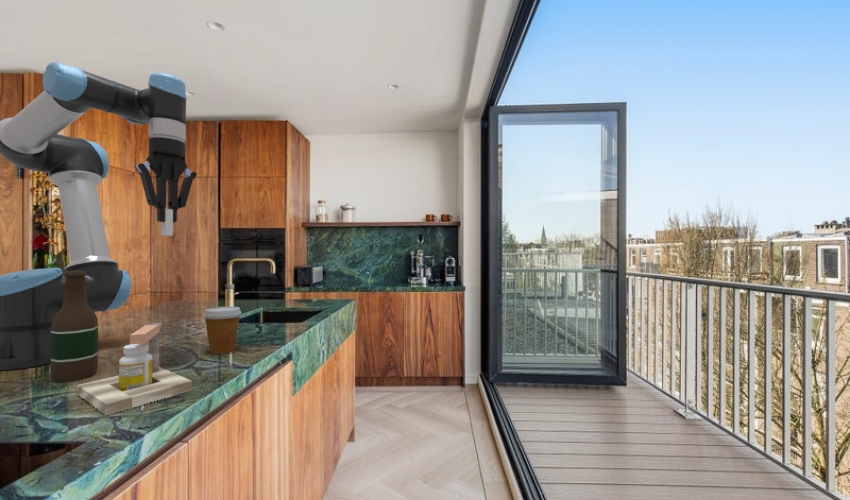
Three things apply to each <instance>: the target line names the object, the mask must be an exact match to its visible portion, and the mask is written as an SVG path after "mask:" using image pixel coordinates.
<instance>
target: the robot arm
mask: <svg viewBox="0 0 850 500" xmlns="http://www.w3.org/2000/svg"><path fill="white" fill-rule="evenodd" d="M147 85H148V87H147V88H144V89H137V88H135V87H132V86H129V85H125V84H123V83H121V82H117V81H115V80H111V79H108V78H106V77H103V76H100V75H97V74H94V73H91V72H88V71H86V70H83V69H81V68H78V67H76V66H72V65H67V64H64V63H62V62H54V61H53V62H50V63H48V64H47V66H46V67H45V70H44V71H43V75H42V87H43V90H44V91H42V92H41V93H39V95H37V96H36V97H35V98H34V99H33V100H31V101H30V102H29V103H28V104H27V105H26V106H25V107H24V108H23V109H21V110H20V111H19V112H18V113H17V114H16V115H14V116H13V117H6V118H4V119H2V120H0V156H1V157H3V159H5V160H7V161H8V162H10V163H11V164H13V165H15V166H17V167H19V168H22V169H25V170H30V171H34V172H41V173H47V174H48V175H49V176H48V177H49V181H50V182H51V184H54V185H56V186H57V187H58V193H59V198H60V199H59V200H60V206H61V211H62V216H63V217H62V218H63V222H64V229H65V230H64V231H65V235H66V236H65V237H66V241H67V242H66V243H67V248H68V254H69V259H70V263H69V264H67V266H66V267H64V272H63V269H62V268H60V267H47V268H46V267H45V268H36V269H35V268H34V269H26V270H18V271H13V272H8V273H4V274H1V275H0V371H9V370H10V371H11V370H19V369H27V368H33V367H39V366H42V365H48V364H51V325H52V321H53V319H54V317H55V315H56V314H57V313H58V312H59V310H60V309H61V308H62V305H63V301H64V292H65V281H66V277H65V276H64V274H65V272H67V271H80V270H81V271H86V274H87V275H86V276H85V282H86V295H87V302H88V306H89V307H90V308H91V309H92V310H93V311H94V312H95V313H97V312H101V313H102V312H106V311H112V310H117V309H119V308H121V307H122V306H123V305H125V304H126V302H127V300H128V299H129V296H130V294H131V289H132V279H131V276H130V274H129V273H128V271H126V270H124V269H119V268H120V267H119V263H118V262H117V260H116V261H115V260H114V259H112V258H111V257H110V252H109V246H108V240H107V239H108V238H107V234H106V229H105V221H104V218H103V213H102V208H101V200H100V196H99V190H98V186H100V184H101V183H102V182H103V180H104V179H105V178H106V177H107V175H108V173H109V166H110V164H109V162H110V161H109V157H108V155H107V154H108V153H107V152H106V151H105V150H104V148H103V146H101V145H100V144H98V143H97V142H95V141H92V140H87V139H86V138H80V137H72V136H68V135H63V134H59V133H60V132H61V131H63V130H64V129H65V128H67V127H68V126H69V125H71V124H72V123H73V122H75V121H76V120H77V119H79V118H80V117H81V116H83V115H84V114H85V113H87V112H88V111H90V110H91V109H95V110H98V111H102V112H105V113H109V114H112V115H116V116H119V117H121V118H122V119H123V120H125V121H127V122H128V123H130V124H133V125H145V124H146V125H148V137H150V138H149V139H148V156H147V158H146V159H145V162H141V163H137V164H135V165H134V168H135V170H136V171H137V173H138V174H139V176H140V180H141V185H142V186H143V187H142V188H143V190H144V191H143V192H144V196H145V198H146V202H147V205H148V206H152V207H154V208H155V209H156V221H157V222H158V223H159V222H160V236H162V237H163V236H165V237H167V236H168V237H170V236H171V237H172V236H174V235H173V234H174V223H177V221H178V217H177V216H178V210H179V209H182V208H185V207H186V205H187V201H188V198H189V195H190V191H191V187H192V184H193V181H194V179H196V177H197V175H198V174H197V172H195V171H192V170H190V169H189V168H188V164H187V163H186V146H187V145H186V144H185V142H186V139H187V138H186V137H187V135H186V131H187V130H186V129H187V128H186V127H187V126H186V123H187V120H186V119H187V118H186V117H187V115H186V114H187V94H186V92H187V91H186V84H185V83H184V81H183V79H180V78H178V77H176V76H174V75H172V74H168V73H162V72H155V73H151V74H150V75H149V77H148V83H147ZM150 170H151V171H152V173H153V174H154V175H155V183H156V184H155V186H156V188H154V183H153V180H152V176H151V173H150ZM181 175H183V180H182V182H181V186H180V189H179V182H180V177H181ZM155 191H156V192H155ZM166 207H167V208H166Z"/></svg>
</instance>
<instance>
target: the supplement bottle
mask: <svg viewBox="0 0 850 500" xmlns="http://www.w3.org/2000/svg"><path fill="white" fill-rule="evenodd" d="M122 350H123V352H122V353H123V355H124V356H122V357H120V359H119V361H118V376H119V390H120V391H122V392H123V391H127V390H130V389H134V388H138V387H142V386H146V385H150V384H152V355H151V354H149V343H147V342H146V343H143V344H130V343H129V344H127V345H125V346H123V349H122Z"/></svg>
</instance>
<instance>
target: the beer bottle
mask: <svg viewBox="0 0 850 500" xmlns="http://www.w3.org/2000/svg"><path fill="white" fill-rule="evenodd" d="M64 273H65V274H64V276H65V277H66V281H65V292H64V301H63V305H62V308H61V309H60V310H59V312H58V313H57V314H56V315H55V317H54V319H53V321H52V325H51V363H50V380H51V381H53V382H56V383H66V382H67V383H68V381H69V382H76V381H75V380H77V381H81V380H83V379H84V378H85V379H87V378H92V377H93V376H94V375H96V373H97V372H98V370H99V369H98V368H99V366H98V365H99V360H98V359H99V321H98V317H97V314H96V312H94V311H93V310H92V309H91V308H90V307H89V306H88V302H87V295H86V282H85V276H86V275H87V274H86V271H81V270H80V271H67V272H65V271H64ZM91 376H92V377H91ZM80 379H81V380H80Z"/></svg>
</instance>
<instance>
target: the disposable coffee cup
mask: <svg viewBox="0 0 850 500" xmlns="http://www.w3.org/2000/svg"><path fill="white" fill-rule="evenodd" d="M241 314H242V311H241V309H240V307H239V306H218V307H217V306H216V307H215V306H214V307H209V308H206V309H205V311H204V313H203V314H202V315H203V317H204V320H205V326H206V334H207V342H208V348H209V353H210V354H214V355H217V354H220V355H221V354H229V353H231V352H234V351H235V350H236V343H237V336H238V330H239V321H240V316H241Z"/></svg>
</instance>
